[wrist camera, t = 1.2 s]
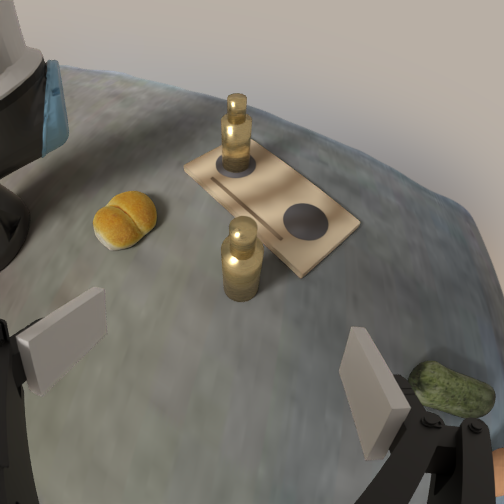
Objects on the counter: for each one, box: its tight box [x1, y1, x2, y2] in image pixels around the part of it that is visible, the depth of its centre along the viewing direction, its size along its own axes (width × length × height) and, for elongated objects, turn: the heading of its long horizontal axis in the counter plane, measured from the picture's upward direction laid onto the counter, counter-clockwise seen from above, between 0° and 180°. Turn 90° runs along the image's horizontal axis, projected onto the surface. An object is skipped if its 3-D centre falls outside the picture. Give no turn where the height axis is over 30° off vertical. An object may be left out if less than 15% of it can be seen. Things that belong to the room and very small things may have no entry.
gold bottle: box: [221, 93, 252, 173], centre depth 40 cm, size 4×4×12 cm
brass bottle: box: [221, 216, 264, 302], centre depth 31 cm, size 4×4×12 cm
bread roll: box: [93, 191, 157, 251], centre depth 39 cm, size 8×9×4 cm
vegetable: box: [408, 361, 496, 418], centre depth 27 cm, size 14×5×5 cm, turn 64°
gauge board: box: [184, 139, 361, 279], centre depth 43 cm, size 24×12×1 cm, turn 42°
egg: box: [492, 448, 504, 497], centre depth 19 cm, size 7×7×9 cm
